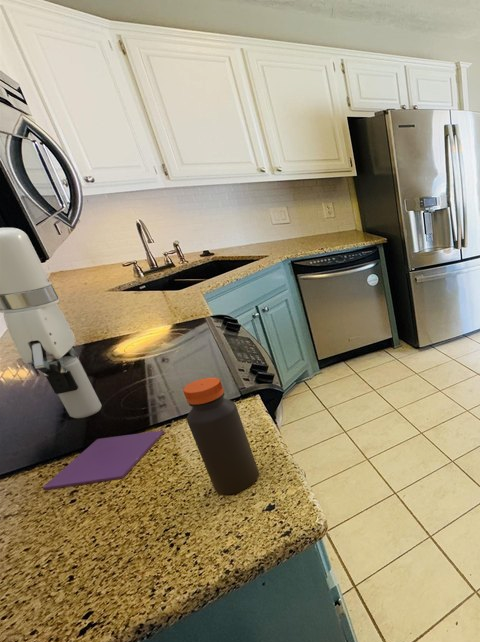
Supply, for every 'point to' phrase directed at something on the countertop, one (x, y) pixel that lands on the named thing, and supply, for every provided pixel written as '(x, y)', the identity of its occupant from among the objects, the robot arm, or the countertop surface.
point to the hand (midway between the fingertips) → (72, 384)
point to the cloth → (105, 460)
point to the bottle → (220, 437)
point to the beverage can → (79, 391)
